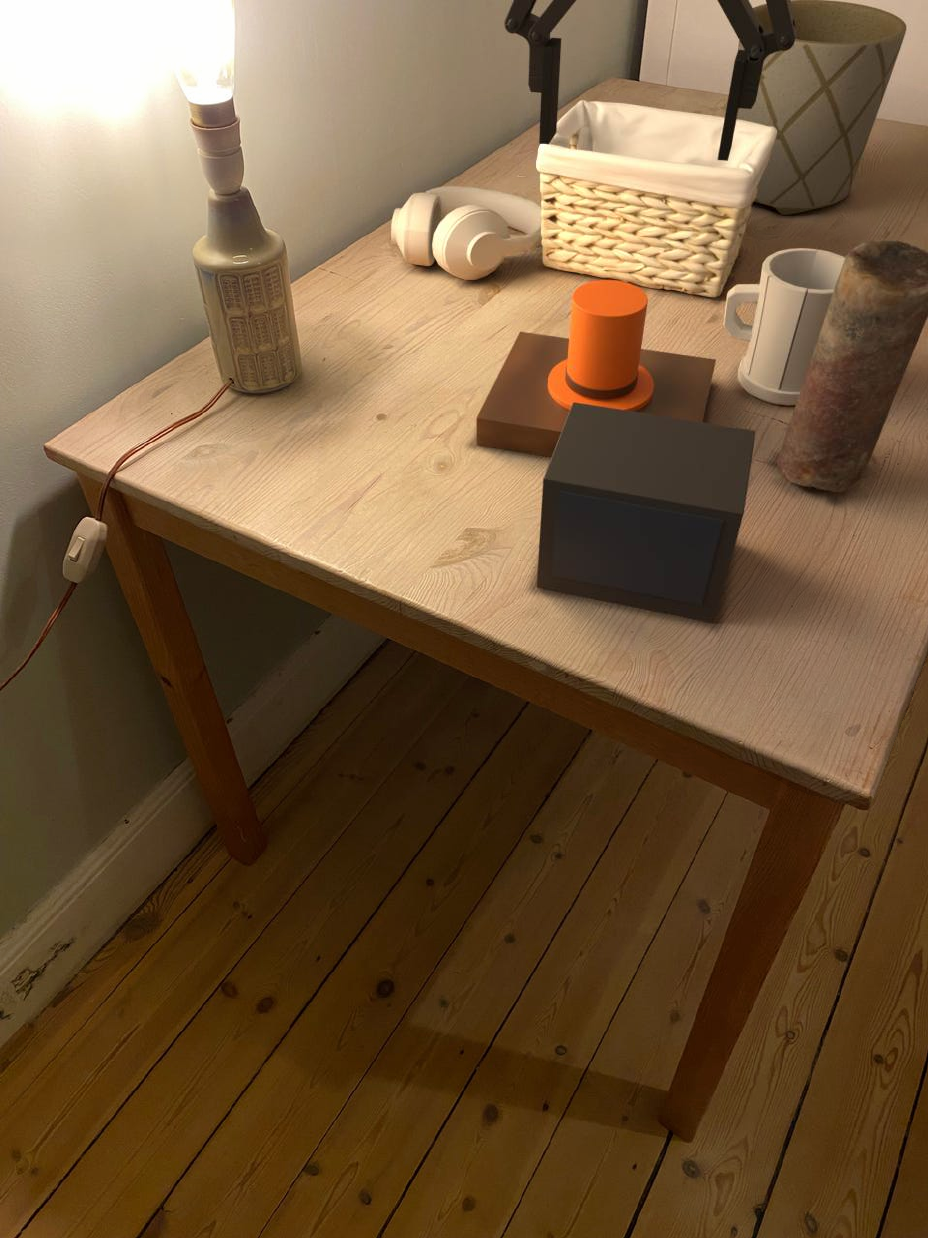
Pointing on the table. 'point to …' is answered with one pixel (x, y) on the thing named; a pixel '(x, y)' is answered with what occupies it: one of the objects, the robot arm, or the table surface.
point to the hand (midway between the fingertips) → (634, 146)
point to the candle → (857, 365)
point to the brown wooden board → (536, 420)
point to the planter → (822, 100)
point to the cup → (783, 321)
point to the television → (643, 510)
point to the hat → (604, 349)
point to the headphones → (465, 229)
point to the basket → (648, 195)
